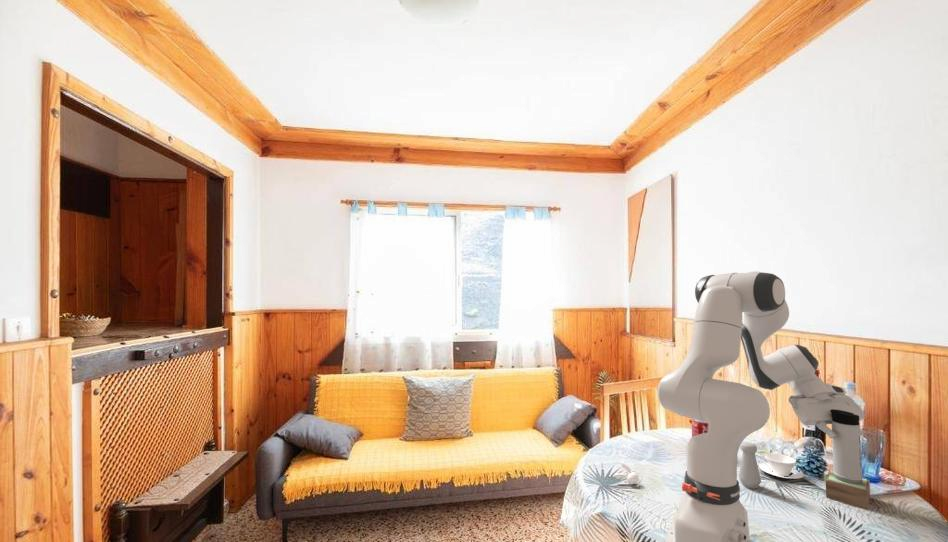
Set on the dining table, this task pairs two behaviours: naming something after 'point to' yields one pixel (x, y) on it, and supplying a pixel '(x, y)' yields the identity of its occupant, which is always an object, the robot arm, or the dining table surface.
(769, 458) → the teacup
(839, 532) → the dining table surface
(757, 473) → the salt shaker
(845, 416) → the travel mug
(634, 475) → the rabbit figurine
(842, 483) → the stand
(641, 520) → the dining table surface
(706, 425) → the soda can
